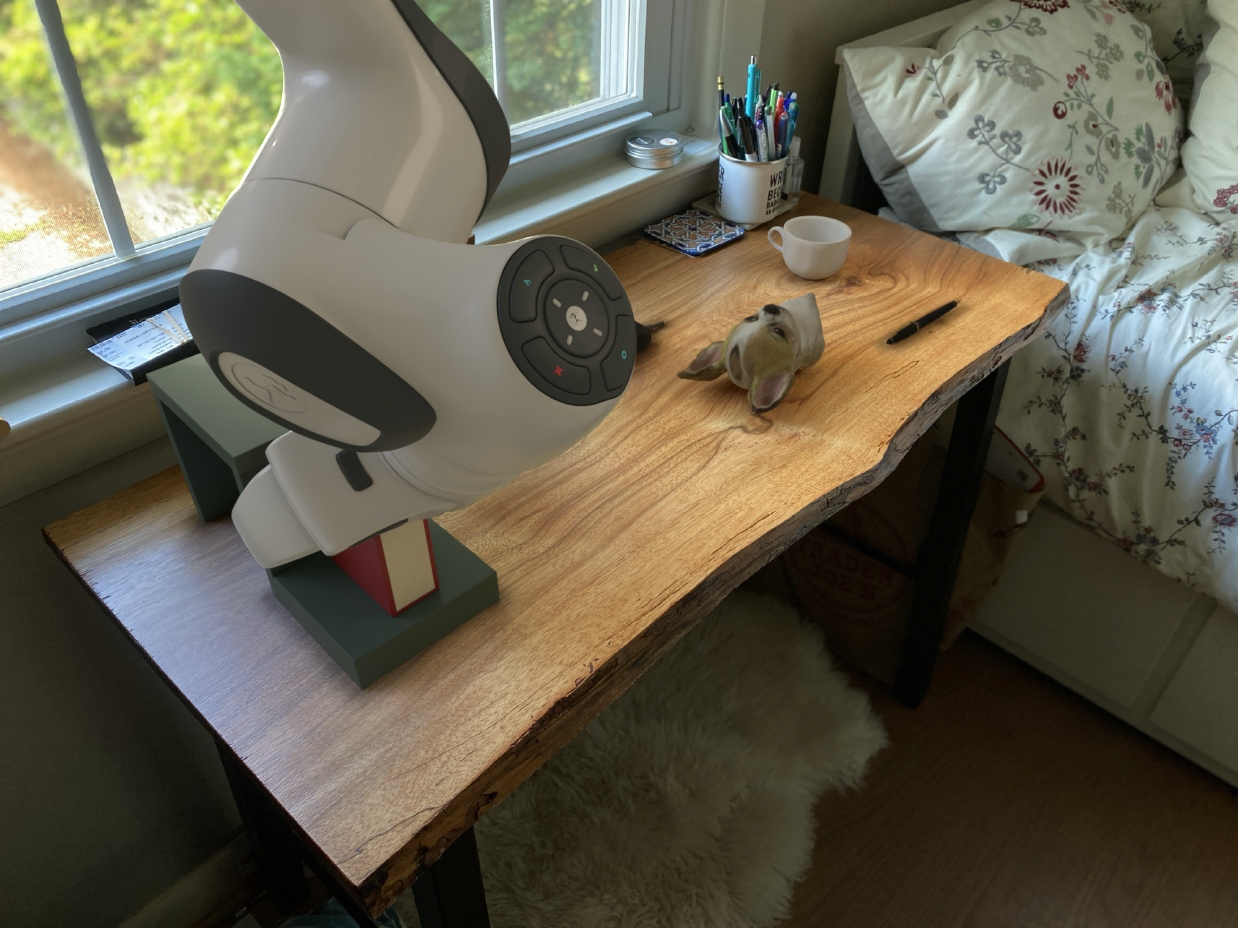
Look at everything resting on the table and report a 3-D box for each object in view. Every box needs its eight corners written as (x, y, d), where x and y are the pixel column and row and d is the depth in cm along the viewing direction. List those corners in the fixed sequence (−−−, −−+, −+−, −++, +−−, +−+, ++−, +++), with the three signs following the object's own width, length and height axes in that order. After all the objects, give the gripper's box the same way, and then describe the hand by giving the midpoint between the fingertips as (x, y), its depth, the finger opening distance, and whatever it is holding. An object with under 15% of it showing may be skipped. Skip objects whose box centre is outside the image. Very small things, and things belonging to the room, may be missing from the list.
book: (393, 618, 65) (357, 459, 56) (332, 560, 69) (290, 404, 60) (440, 589, 67) (413, 432, 58) (378, 534, 71) (344, 381, 62)
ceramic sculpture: (860, 295, 88) (762, 364, 81) (850, 371, 94) (757, 441, 86) (771, 261, 94) (671, 321, 87) (766, 333, 100) (672, 396, 92)
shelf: (361, 690, 63) (320, 540, 55) (198, 515, 77) (145, 374, 69) (500, 599, 70) (483, 452, 61) (326, 454, 84) (292, 317, 75)
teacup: (854, 267, 113) (861, 225, 109) (829, 292, 108) (836, 249, 104) (779, 247, 117) (783, 206, 113) (751, 271, 112) (755, 229, 108)
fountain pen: (956, 302, 106) (959, 290, 105) (965, 306, 105) (968, 294, 104) (880, 346, 98) (882, 334, 97) (889, 351, 98) (892, 338, 97)
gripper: (559, 308, 55) (476, 380, 67) (236, 456, 44) (203, 513, 56) (612, 400, 56) (520, 456, 67) (304, 571, 45) (257, 603, 56)
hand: (374, 483), depth 62 cm, fingers open, 8 cm apart
